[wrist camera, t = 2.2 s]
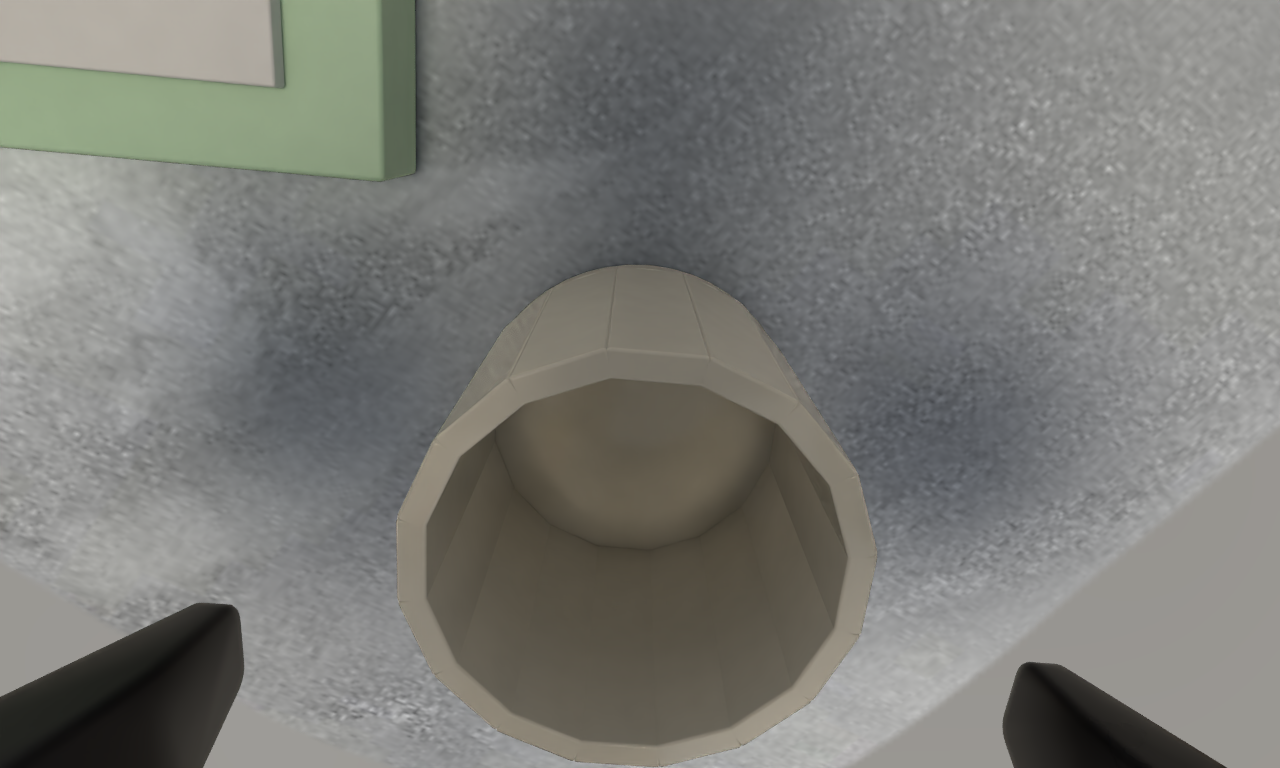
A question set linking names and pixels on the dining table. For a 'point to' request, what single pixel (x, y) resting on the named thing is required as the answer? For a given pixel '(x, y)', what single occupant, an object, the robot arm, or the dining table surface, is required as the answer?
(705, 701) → the ramekin
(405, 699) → the dining table surface
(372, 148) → the scale
